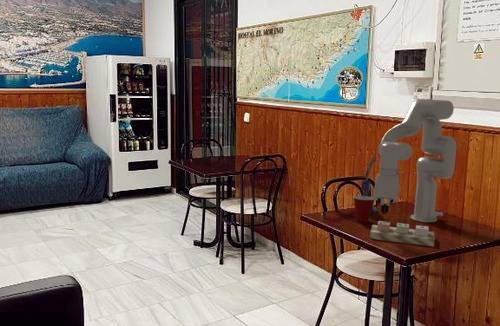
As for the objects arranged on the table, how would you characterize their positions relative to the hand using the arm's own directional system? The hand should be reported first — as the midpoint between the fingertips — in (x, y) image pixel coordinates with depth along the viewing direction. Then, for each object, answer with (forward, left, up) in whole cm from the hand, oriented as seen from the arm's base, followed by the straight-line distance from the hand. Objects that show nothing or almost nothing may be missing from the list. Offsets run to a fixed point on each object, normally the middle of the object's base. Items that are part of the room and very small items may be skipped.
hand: (384, 213), depth 220 cm
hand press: (-13, -43, -10) cm, 46 cm away
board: (-7, +4, -10) cm, 13 cm away
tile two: (-7, +4, -8) cm, 11 cm away
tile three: (0, 0, -8) cm, 8 cm away
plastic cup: (-2, -25, -10) cm, 27 cm away
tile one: (-14, +8, -8) cm, 18 cm away
